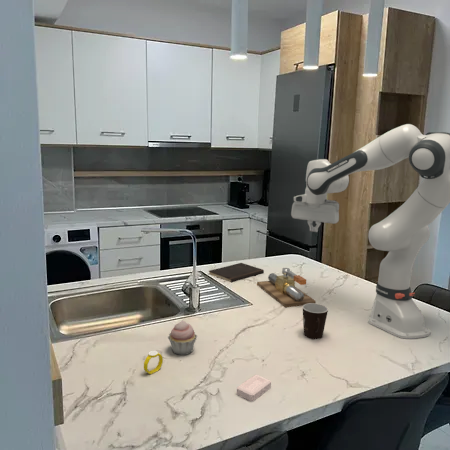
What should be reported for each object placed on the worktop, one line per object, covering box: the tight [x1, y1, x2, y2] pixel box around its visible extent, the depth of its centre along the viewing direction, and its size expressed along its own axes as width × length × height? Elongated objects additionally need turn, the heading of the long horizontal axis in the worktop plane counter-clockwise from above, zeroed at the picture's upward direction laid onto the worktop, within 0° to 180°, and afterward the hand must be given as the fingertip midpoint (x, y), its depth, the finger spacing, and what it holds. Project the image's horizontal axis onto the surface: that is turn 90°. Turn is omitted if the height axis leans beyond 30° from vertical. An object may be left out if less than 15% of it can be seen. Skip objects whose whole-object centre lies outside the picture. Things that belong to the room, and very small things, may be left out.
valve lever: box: [281, 267, 307, 286], centre depth 181 cm, size 17×3×2 cm, turn 20°
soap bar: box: [236, 374, 272, 402], centre depth 116 cm, size 5×9×2 cm, turn 141°
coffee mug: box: [302, 303, 329, 340], centre depth 148 cm, size 12×9×10 cm
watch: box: [143, 350, 164, 375], centre depth 124 cm, size 6×3×6 cm, turn 139°
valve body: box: [267, 272, 304, 302], centre depth 188 cm, size 26×6×8 cm, turn 19°
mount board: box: [256, 280, 317, 308], centre depth 189 cm, size 28×14×2 cm, turn 19°
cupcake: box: [167, 320, 198, 356], centre depth 136 cm, size 9×9×10 cm
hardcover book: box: [208, 262, 265, 283], centre depth 216 cm, size 16×23×2 cm
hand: (313, 231), depth 181 cm, fingers closed
